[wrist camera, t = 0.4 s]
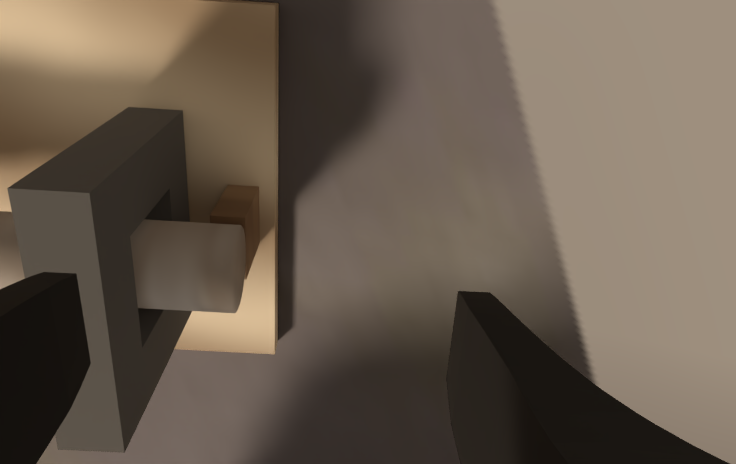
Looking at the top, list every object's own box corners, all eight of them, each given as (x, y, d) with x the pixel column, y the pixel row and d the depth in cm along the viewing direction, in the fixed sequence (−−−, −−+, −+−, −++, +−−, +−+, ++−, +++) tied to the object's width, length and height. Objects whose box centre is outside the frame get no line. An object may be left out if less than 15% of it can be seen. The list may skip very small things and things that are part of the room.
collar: (195, 305, 21) (124, 452, 15) (148, 302, 21) (57, 449, 15) (182, 110, 18) (89, 193, 12) (128, 106, 18) (6, 188, 12)
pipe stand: (277, 341, 23) (251, 458, 18) (-102, 321, 23) (-245, 435, 17) (278, 3, 18) (242, 26, 13) (-209, -31, 18) (-456, -22, 12)
